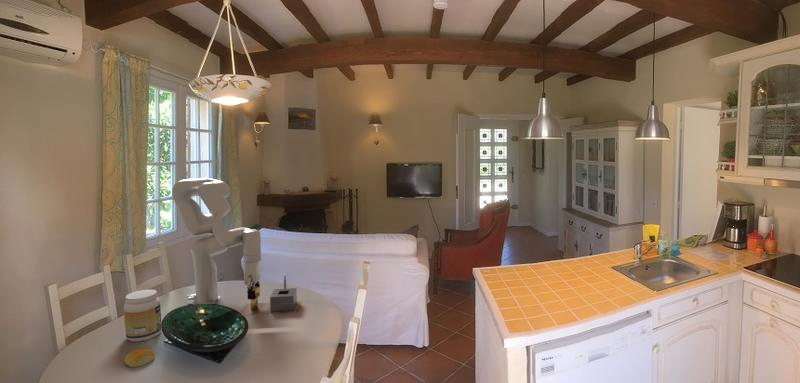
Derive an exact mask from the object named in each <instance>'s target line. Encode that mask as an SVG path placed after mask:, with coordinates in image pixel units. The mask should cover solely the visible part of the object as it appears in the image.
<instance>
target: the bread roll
mask: <svg viewBox="0 0 800 383" xmlns="http://www.w3.org/2000/svg"><path fill="white" fill-rule="evenodd" d="M155 357H156V356H155V352H154V351H152V350H149V349H148V348H146V347H139V348H135V349H133V350H131V351H129V353H127V355H126V356H125V359H124V364H125V366H128V367H130V368H138V367H142V366H145V365H147V364H149V363H151V362H152V361H153V360H154V358H155Z"/></svg>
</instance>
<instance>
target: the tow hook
mask: <svg viewBox="0 0 800 383" xmlns="http://www.w3.org/2000/svg"><path fill="white" fill-rule="evenodd" d="M283 289H287V275H285V274H284V275H283Z"/></svg>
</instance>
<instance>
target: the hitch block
mask: <svg viewBox="0 0 800 383" xmlns="http://www.w3.org/2000/svg"><path fill="white" fill-rule="evenodd" d="M297 300H298V298H297V288H296V287H295V288H294V287H293V288H290V287H289V288H286V289H284V288H275V289H273V291H272V292H271V294H270V297H269V303H270V309H271V312H288V311H294V309H295V306H296V303H297Z"/></svg>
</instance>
